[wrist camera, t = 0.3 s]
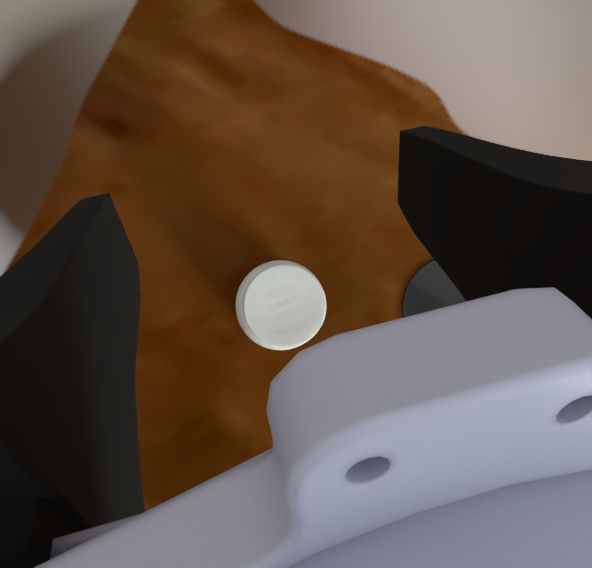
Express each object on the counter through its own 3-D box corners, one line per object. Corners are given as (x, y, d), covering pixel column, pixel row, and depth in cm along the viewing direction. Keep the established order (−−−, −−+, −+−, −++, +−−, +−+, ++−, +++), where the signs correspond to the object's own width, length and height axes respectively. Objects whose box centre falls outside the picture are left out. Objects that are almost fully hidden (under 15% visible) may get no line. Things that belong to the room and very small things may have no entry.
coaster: (512, 345, 42) (514, 345, 41) (416, 371, 41) (418, 372, 40) (487, 246, 42) (489, 246, 42) (391, 270, 41) (392, 269, 41)
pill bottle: (237, 268, 40) (232, 254, 28) (310, 268, 40) (334, 254, 29) (238, 342, 40) (233, 357, 28) (311, 340, 40) (335, 355, 29)
